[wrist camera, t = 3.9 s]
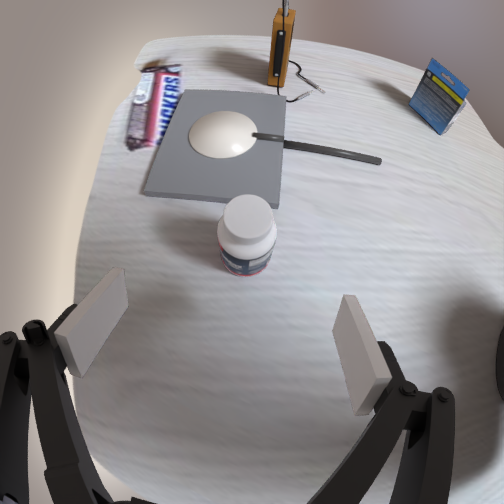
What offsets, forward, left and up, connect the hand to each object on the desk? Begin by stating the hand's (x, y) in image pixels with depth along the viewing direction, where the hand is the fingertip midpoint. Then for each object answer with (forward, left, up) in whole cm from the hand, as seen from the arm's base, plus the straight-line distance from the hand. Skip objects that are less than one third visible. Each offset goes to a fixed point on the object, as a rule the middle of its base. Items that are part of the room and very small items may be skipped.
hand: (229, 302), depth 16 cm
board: (-2, -24, -12) cm, 27 cm away
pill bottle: (0, -8, -13) cm, 15 cm away
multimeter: (-5, -41, -13) cm, 43 cm away
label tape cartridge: (-31, -40, -13) cm, 52 cm away
